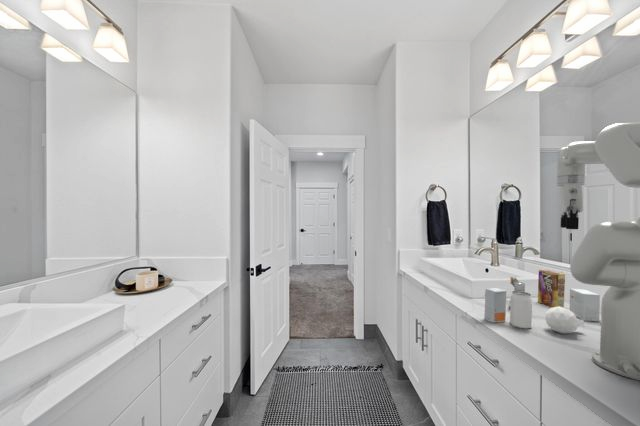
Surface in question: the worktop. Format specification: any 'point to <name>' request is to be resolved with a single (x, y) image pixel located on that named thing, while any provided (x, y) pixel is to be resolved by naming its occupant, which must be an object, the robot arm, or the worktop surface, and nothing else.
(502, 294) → the skincare box
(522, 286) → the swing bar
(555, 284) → the candy box
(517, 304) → the can
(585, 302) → the small box
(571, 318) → the white egg-shaped lump
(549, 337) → the worktop surface
